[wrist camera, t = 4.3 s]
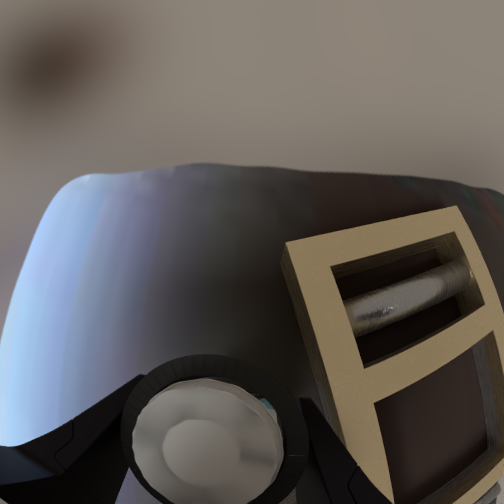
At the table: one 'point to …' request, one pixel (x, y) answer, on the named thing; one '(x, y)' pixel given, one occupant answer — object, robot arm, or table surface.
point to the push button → (213, 434)
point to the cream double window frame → (408, 357)
